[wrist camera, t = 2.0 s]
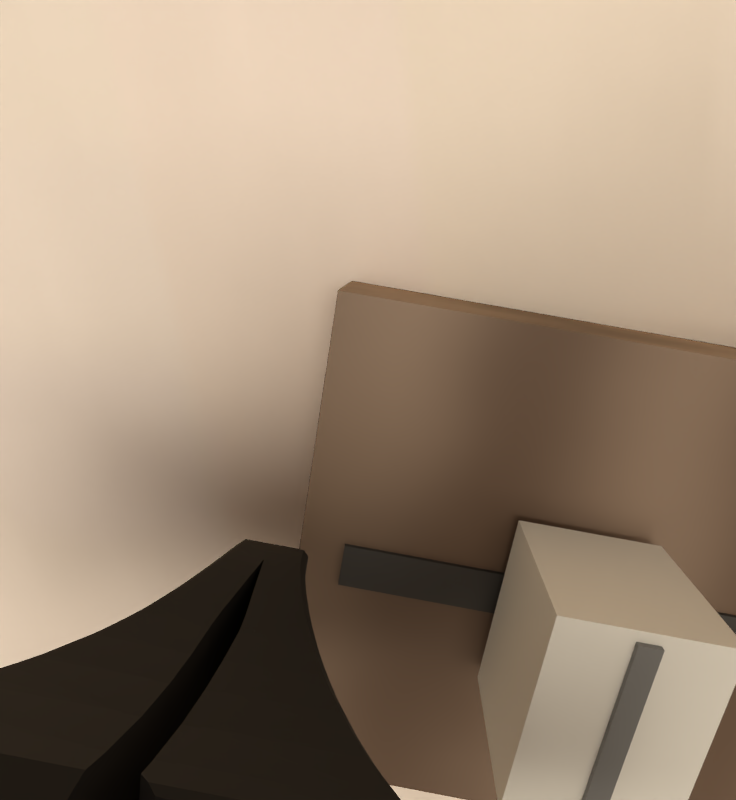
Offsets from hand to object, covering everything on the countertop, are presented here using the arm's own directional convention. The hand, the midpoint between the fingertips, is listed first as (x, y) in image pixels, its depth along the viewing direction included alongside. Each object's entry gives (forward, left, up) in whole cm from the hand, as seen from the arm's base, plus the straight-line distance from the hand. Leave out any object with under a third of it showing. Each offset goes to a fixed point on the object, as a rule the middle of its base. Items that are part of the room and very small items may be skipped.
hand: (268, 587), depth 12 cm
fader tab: (-6, 0, -1) cm, 6 cm away
